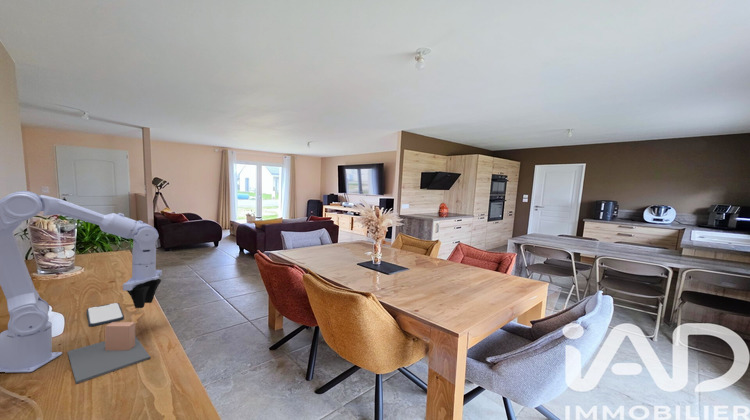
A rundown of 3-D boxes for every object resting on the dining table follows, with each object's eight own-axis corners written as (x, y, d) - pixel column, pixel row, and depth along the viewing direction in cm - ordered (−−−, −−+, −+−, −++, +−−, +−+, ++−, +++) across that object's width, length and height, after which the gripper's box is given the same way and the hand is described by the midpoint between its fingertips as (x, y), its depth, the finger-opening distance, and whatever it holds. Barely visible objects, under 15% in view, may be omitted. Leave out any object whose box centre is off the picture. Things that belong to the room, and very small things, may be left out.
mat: (150, 358, 77) (150, 356, 77) (76, 384, 66) (76, 381, 66) (133, 334, 88) (133, 333, 88) (67, 353, 77) (67, 351, 77)
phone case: (125, 321, 97) (119, 306, 108) (125, 317, 97) (119, 301, 108) (88, 329, 91) (86, 312, 101) (88, 325, 91) (85, 308, 101)
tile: (105, 350, 79) (105, 326, 78) (112, 345, 81) (112, 321, 81) (128, 350, 79) (129, 326, 79) (135, 345, 82) (135, 322, 81)
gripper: (141, 269, 81) (141, 315, 82) (172, 257, 95) (171, 296, 96) (115, 268, 80) (114, 315, 81) (149, 256, 95) (148, 296, 95)
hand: (143, 305), depth 89 cm, fingers open, 3 cm apart
